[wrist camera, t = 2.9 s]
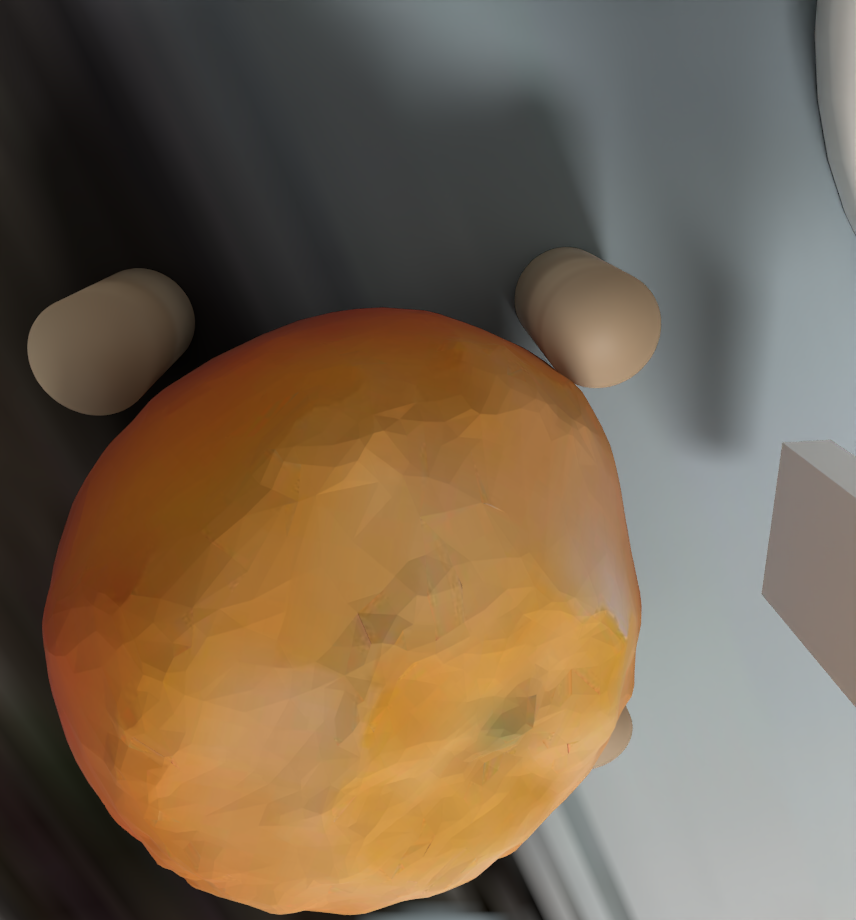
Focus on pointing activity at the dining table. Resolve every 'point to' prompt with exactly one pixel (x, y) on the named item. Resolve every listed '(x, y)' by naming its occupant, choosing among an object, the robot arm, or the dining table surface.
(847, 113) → the saucer
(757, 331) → the dining table surface
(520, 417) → the fruit
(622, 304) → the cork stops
